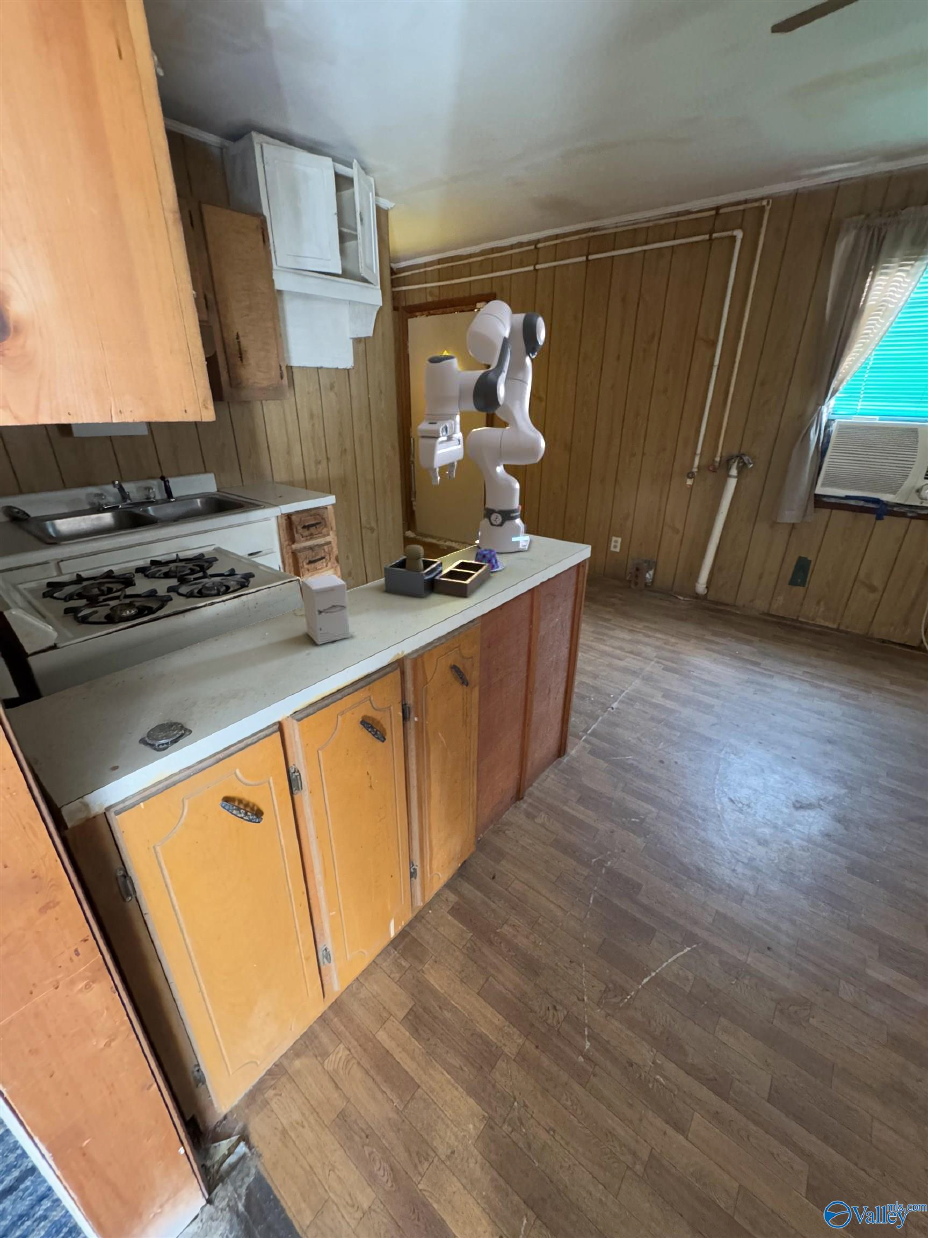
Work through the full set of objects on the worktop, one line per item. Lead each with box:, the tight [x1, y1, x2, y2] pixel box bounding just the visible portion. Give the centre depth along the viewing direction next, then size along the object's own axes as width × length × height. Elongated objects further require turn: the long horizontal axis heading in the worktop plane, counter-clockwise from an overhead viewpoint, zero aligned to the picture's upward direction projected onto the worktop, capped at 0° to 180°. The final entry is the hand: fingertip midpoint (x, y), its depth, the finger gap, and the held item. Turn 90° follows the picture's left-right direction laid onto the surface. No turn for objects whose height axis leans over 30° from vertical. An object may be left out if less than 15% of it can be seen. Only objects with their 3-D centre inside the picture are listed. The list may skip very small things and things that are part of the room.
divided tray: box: [433, 559, 492, 598], centre depth 139 cm, size 18×10×4 cm, turn 158°
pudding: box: [471, 548, 507, 572], centre depth 153 cm, size 12×12×5 cm
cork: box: [403, 544, 425, 572], centre depth 135 cm, size 6×6×11 cm
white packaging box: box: [300, 573, 351, 645], centre depth 107 cm, size 7×7×13 cm
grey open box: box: [383, 555, 443, 599], centre depth 136 cm, size 12×12×7 cm
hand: (443, 481), depth 134 cm, fingers open, 8 cm apart
